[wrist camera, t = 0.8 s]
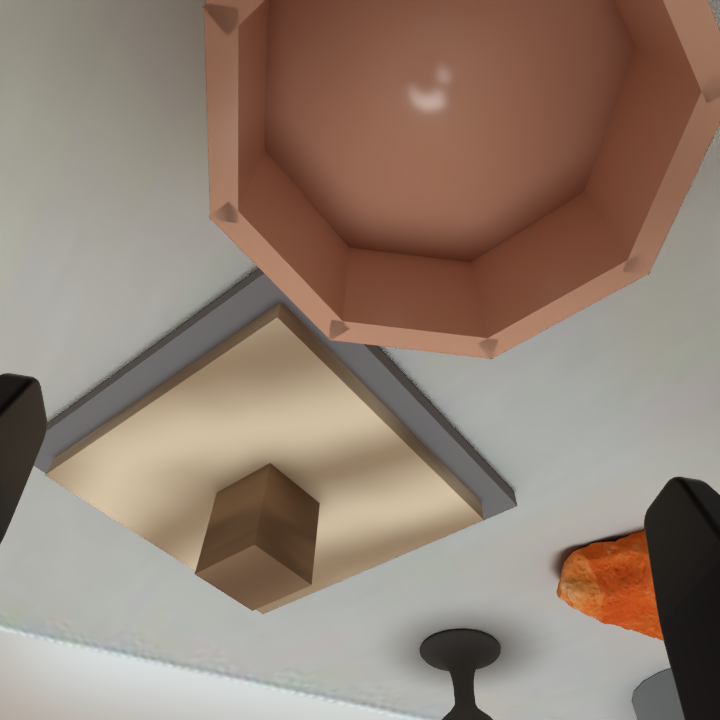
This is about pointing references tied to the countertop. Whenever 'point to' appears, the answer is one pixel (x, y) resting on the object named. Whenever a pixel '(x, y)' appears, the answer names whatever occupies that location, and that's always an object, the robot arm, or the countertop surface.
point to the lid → (268, 469)
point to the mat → (358, 358)
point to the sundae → (461, 665)
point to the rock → (613, 584)
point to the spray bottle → (658, 698)
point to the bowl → (455, 155)
